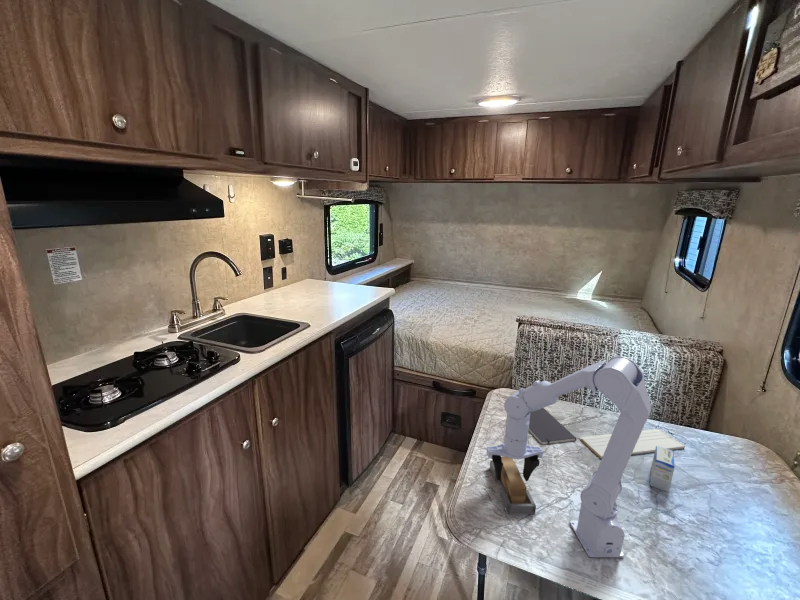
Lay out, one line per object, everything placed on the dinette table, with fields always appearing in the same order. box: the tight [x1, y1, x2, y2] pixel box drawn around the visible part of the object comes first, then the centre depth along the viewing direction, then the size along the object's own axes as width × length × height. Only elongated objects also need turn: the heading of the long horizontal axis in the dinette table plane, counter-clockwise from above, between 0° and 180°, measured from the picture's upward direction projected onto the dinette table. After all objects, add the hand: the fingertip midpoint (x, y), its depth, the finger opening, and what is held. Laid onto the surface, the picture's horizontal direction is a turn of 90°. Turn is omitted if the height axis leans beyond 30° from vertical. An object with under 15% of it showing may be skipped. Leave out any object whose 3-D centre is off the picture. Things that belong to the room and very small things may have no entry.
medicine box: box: [649, 446, 676, 493], centre depth 102 cm, size 8×4×9 cm, turn 145°
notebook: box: [528, 407, 577, 445], centre depth 130 cm, size 13×2×21 cm
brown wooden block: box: [501, 456, 528, 504], centre depth 99 cm, size 12×4×5 cm, turn 1°
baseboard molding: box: [578, 425, 686, 459], centre depth 121 cm, size 31×3×12 cm
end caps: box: [489, 460, 537, 515], centre depth 99 cm, size 17×7×2 cm, turn 1°
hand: (511, 478), depth 99 cm, fingers open, 7 cm apart
